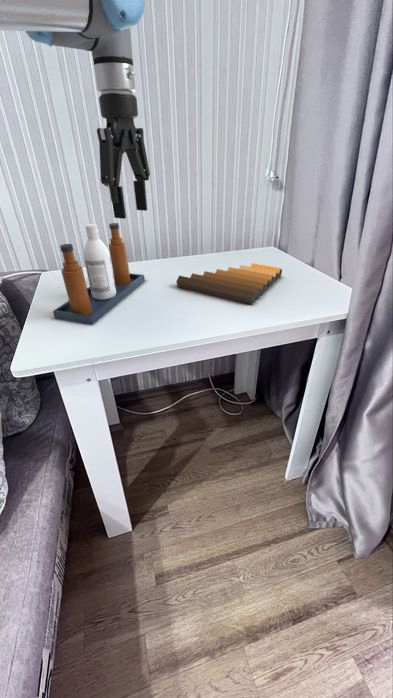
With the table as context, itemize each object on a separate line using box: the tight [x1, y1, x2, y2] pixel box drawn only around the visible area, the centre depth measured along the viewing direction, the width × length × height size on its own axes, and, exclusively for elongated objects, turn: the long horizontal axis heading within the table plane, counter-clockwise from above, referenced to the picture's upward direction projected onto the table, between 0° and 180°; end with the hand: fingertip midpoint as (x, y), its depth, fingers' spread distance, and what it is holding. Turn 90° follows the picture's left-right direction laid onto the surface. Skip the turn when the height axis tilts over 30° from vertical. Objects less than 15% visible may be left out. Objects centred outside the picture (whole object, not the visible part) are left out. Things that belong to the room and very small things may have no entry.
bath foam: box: [83, 223, 116, 300], centre depth 89 cm, size 7×7×20 cm
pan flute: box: [175, 262, 283, 306], centre depth 103 cm, size 25×3×25 cm
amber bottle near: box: [59, 243, 92, 315], centre depth 81 cm, size 5×5×18 cm
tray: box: [52, 272, 146, 326], centre depth 95 cm, size 30×12×2 cm, turn 162°
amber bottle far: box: [108, 222, 131, 285], centre depth 98 cm, size 5×5×18 cm
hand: (131, 213), depth 77 cm, fingers open, 9 cm apart
